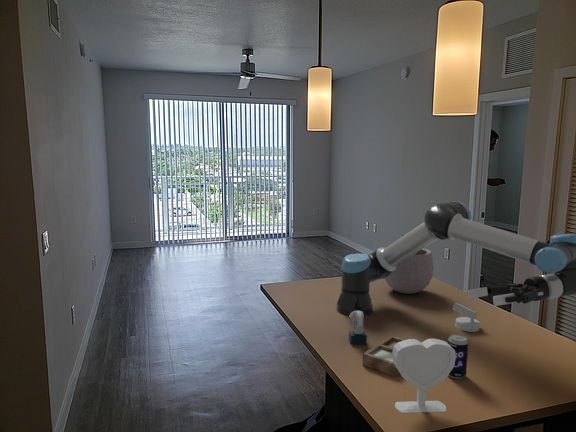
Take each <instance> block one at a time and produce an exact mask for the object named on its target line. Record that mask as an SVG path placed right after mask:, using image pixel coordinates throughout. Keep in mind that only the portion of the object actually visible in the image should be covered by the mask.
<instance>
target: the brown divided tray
mask: <svg viewBox="0 0 576 432" xmlns="http://www.w3.org/2000/svg"><path fill="white" fill-rule="evenodd" d="M403 340H406V339H405V338H401V337H397V336H395V335H390V336H387V338H385V339H384V340H383V341H381V342H378V343H377V344H376V345H374V346H372V347H371V348H369V349H367V350H366V351H365V352H363V353H362V365H363V366H365V367H368V368H371V369H374V370H376V371H379V372H382V373H384V374H387V375H390V376H393V377H396V375H398V374H400V372H399V371H398V369H397V368H396V366H395V364H394V363H393V355H392V352H393V347H394V345H395V344H397V343H398V342H401V341H403Z"/></svg>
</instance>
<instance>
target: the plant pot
mask: <svg viewBox="0 0 576 432" xmlns="http://www.w3.org/2000/svg"><path fill="white" fill-rule="evenodd" d="M404 235H405V234H402V235H401V237H403V236H404ZM433 275H434V261H433V254H432V251H431V250H430V249H428V248H426V247H425V248H423V249H422V250H420V251H418V252H417V253H415V254H414V255H412V256H410V257H409V258H407V259H405V260H404V261H402V262H401V263H399V264H397V268H396V270H394V271H393V272H392V273H391V274H390V275H389V276H388V277H386V278H384V279H383V280H384V281H385V283H386V284H387V285H388V287H389V288H391V289H393V291H395V292H398V293H401V294H404V295H405V294H408V295H410V294H411V295H412V294H417V293H420V292H422V291H424V290H425V289H426V288H427V287H428V286H429V285H430V283H431V281H432V279H433Z"/></svg>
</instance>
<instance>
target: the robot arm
mask: <svg viewBox="0 0 576 432" xmlns="http://www.w3.org/2000/svg"><path fill="white" fill-rule="evenodd" d="M423 219H424V220H423V222H422V223H420V224H419V225H418V226H416V227H415V228H413V229H411V230H409V231H408V232H407V233H406V234H403V235H404V236H401V237H399V238H398V239H397V240H395V241H394V242H392V243H391V244H389V245H388V246H386V247H383V246H381V247H378V248H377V249H375V250H374V251H372V252H371V253H369V254H366V253H351V254H347V255H345V256H344V257H343V259H342V264H341V291H340V294H339V297H338V299H337V303H336V310H337V311H338V312H339V313H340V314H344V315H348V316H349V315H350V314H351V313H352V312H353V311H362V312H363V313H364V316H367V315H370V314H371V313H373V306H374V305H373V302H372V299H371V295H370V284H371V283H373V282H376V281H379V280H385V279H384V278H386V277H388V276H389V275H390V274H391V273H392V272H393V271H394V270H396V268H397V264H399V263H401V262H402V261H404V260H405V259H407V258H409V257H410V256H412V255H414V254H415V253H417V252H418V251H420V250H422V249H423V248H425V249H426V247H428V246H430V245H431V244H432V243H435V242H436V241H438V240H440V241H445V240H449V241H454V240H455V239H456V240H458V241H461V242H465V243H468V244H471V245H473V246H474V245H475V246H477V247H480V248H483V249H486V250H489V251H491V252H494V253H498V254H500V255H504V256H507V257H509V258H513V259H516V260H517V261H522V262H524V263H527V264H531V265H534V266H536V267H537V268H538V269H539V270H540V271H541V272H543V273H547V274H543V275H537V276H530V277H527V278H525V280H524V282H523V283H514V282H512V283H504V284H491V285H490V284H489V285H487V284H486V285H483V287H477V288H471V289H467V296H468V299H474V298H481V297H487V298H488V297H489V295H494V296H492V301H493V307H497V306H498V307H499V306H503V305H510V304H515V303H517V304H520V303H522V304H528V303H531V302H538V301H545V300H548V299H549V300H551V301H553V300H554V298H557V299H558V298H562V297H567V296H568V297H569V296H576V234H573V233H562V234H554V235H551V236H550V237H549V242H550V243H547V242H544V241H540V240H537V239H534V238H531V237H528V236H525V235H521V234H518V233H515V232H511V231H507V230H504V229H502V228H498V227H495V226H494V227H493V226H491V225H487V224H484V223H481V222H478V221H474V220H472V213H471V211H470V208H469V207H468V206H467V205H466V204H465V203H462V202H460V201H448V202H444V203H441V202H440V203H435V204H433V205H431V206H430V207H429V208H428V209H427V210H426V212H425V213H424V218H423Z"/></svg>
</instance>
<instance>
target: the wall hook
mask: <svg viewBox="0 0 576 432" xmlns="http://www.w3.org/2000/svg"><path fill="white" fill-rule="evenodd" d="M452 310H453V311H455V312H457V313H459V314H461V315H463V316H460V317H459V316H458V317H456V319H455V324H454V326H455V327H456V329H458V330H460V331H464V332H471V333H474V332H478V331H479V330H480V325H481V323H480V321H479V320H478V319H477V318H478V313H477V312H476V311H474V309H473V310H472V309H470V308H468V307H466V306H465V305H463V304H460V303H458V302H455V303H454V304H453V306H452Z"/></svg>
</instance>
